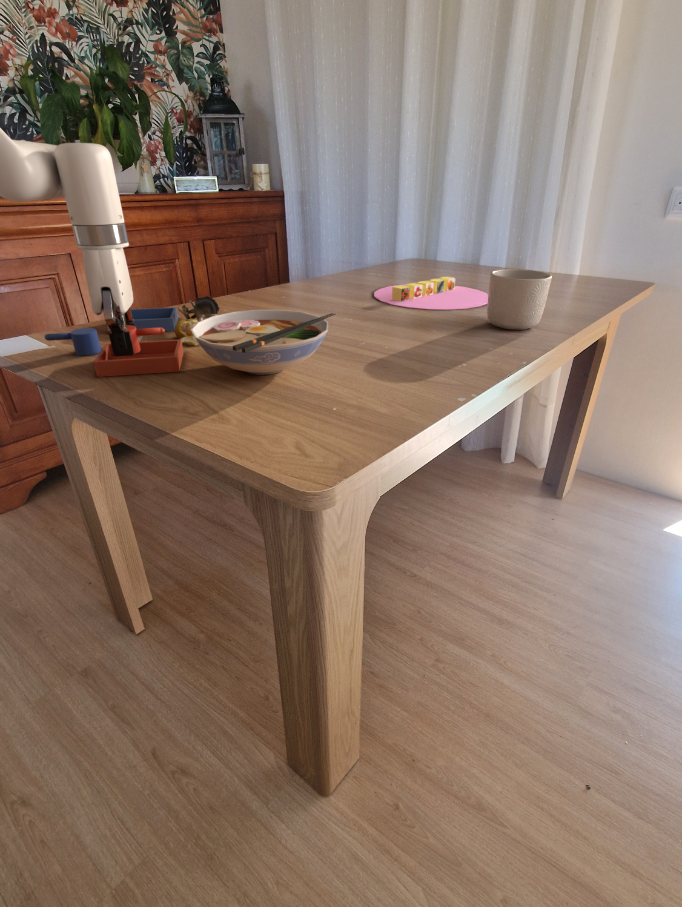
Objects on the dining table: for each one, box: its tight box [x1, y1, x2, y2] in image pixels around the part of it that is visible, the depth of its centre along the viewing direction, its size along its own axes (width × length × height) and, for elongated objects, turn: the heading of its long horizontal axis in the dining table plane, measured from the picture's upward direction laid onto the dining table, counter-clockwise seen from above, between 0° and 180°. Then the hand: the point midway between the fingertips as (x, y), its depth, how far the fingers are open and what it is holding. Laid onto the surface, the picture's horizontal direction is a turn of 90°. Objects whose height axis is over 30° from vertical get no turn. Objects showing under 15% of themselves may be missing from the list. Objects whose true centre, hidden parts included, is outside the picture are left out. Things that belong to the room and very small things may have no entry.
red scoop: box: [126, 325, 166, 354], centre depth 86 cm, size 9×4×4 cm, turn 101°
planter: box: [486, 268, 553, 331], centre depth 108 cm, size 12×12×11 cm
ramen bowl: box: [191, 309, 336, 376], centre depth 84 cm, size 25×23×8 cm
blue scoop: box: [44, 327, 102, 357], centre depth 92 cm, size 9×4×4 cm, turn 101°
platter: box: [373, 276, 489, 311], centre depth 136 cm, size 32×32×3 cm
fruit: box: [173, 318, 200, 346], centre depth 100 cm, size 8×8×4 cm
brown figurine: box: [177, 295, 221, 322], centre depth 109 cm, size 8×7×9 cm
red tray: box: [93, 339, 185, 378], centre depth 87 cm, size 13×10×3 cm
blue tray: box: [131, 306, 179, 332], centre depth 109 cm, size 13×10×3 cm
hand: (126, 349), depth 86 cm, fingers closed on red scoop, 4 cm apart
